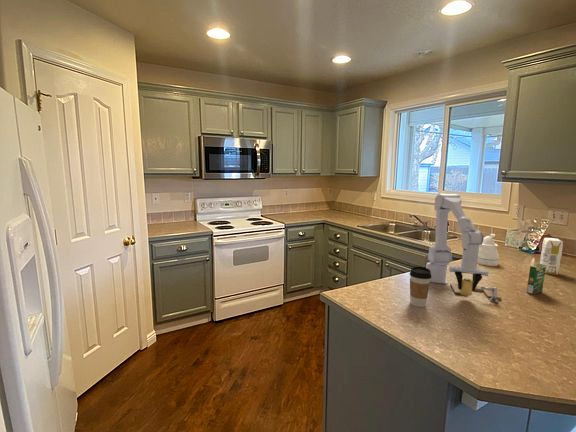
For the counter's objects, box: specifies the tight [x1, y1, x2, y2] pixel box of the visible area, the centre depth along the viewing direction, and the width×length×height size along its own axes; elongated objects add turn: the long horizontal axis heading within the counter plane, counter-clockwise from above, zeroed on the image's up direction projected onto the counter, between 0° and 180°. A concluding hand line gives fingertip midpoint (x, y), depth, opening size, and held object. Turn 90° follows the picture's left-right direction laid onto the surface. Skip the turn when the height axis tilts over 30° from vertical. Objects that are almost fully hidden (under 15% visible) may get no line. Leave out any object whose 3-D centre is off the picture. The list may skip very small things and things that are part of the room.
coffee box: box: [526, 263, 546, 295], centre depth 146 cm, size 8×3×13 cm, turn 115°
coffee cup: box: [409, 266, 432, 308], centre depth 131 cm, size 8×8×15 cm
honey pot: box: [477, 233, 500, 267], centre depth 193 cm, size 13×13×18 cm
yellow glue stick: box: [460, 277, 473, 297], centre depth 136 cm, size 4×4×6 cm
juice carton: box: [539, 237, 564, 276], centre depth 177 cm, size 8×9×19 cm
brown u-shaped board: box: [450, 282, 502, 301], centre depth 146 cm, size 18×12×1 cm, turn 73°
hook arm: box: [480, 286, 500, 304], centre depth 137 cm, size 7×3×6 cm, turn 73°
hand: (466, 289), depth 137 cm, fingers closed on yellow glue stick, 4 cm apart
